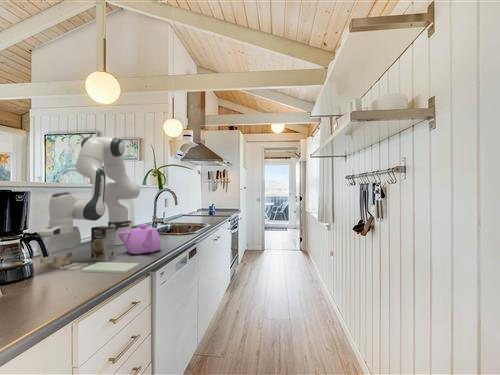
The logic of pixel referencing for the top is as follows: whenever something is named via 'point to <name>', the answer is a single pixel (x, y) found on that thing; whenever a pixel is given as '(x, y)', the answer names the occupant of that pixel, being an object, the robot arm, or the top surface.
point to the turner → (61, 263)
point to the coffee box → (102, 243)
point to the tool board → (110, 267)
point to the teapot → (141, 240)
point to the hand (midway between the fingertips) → (60, 259)
